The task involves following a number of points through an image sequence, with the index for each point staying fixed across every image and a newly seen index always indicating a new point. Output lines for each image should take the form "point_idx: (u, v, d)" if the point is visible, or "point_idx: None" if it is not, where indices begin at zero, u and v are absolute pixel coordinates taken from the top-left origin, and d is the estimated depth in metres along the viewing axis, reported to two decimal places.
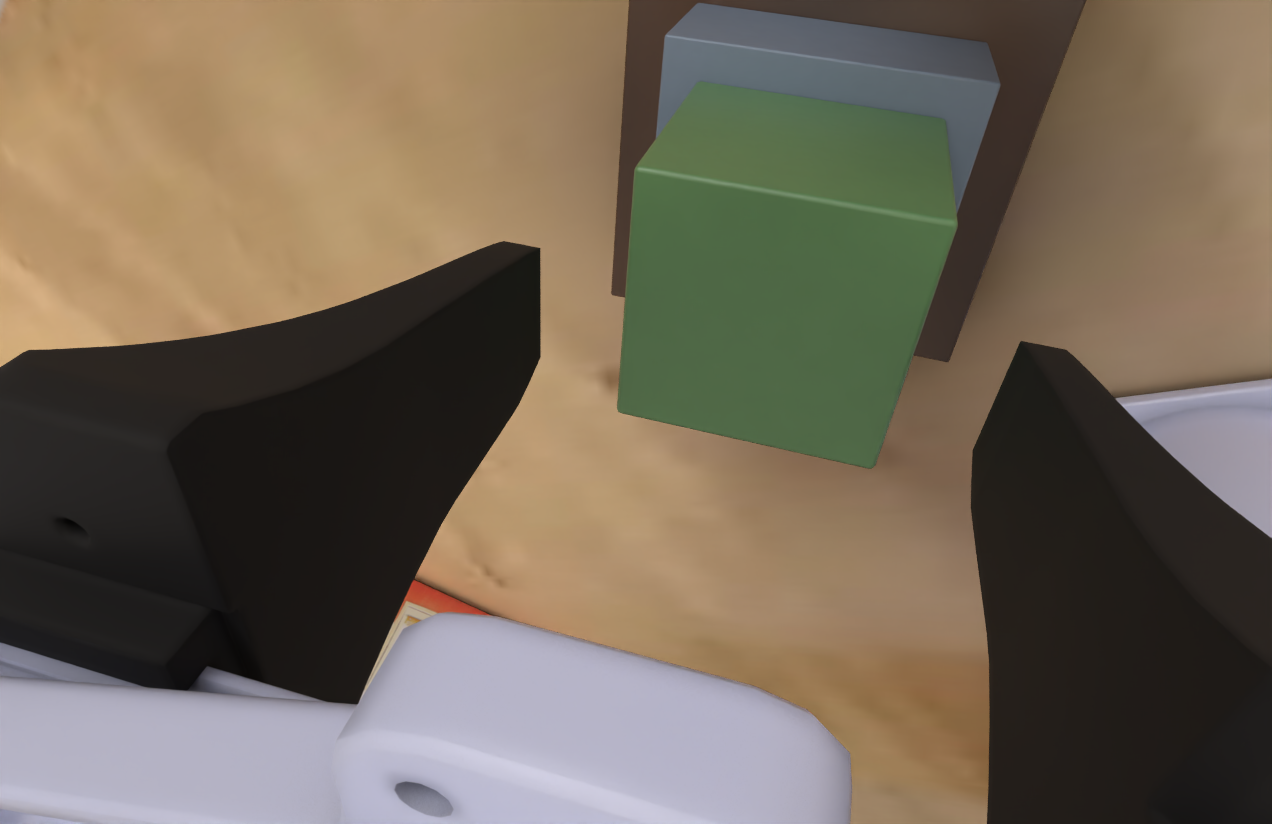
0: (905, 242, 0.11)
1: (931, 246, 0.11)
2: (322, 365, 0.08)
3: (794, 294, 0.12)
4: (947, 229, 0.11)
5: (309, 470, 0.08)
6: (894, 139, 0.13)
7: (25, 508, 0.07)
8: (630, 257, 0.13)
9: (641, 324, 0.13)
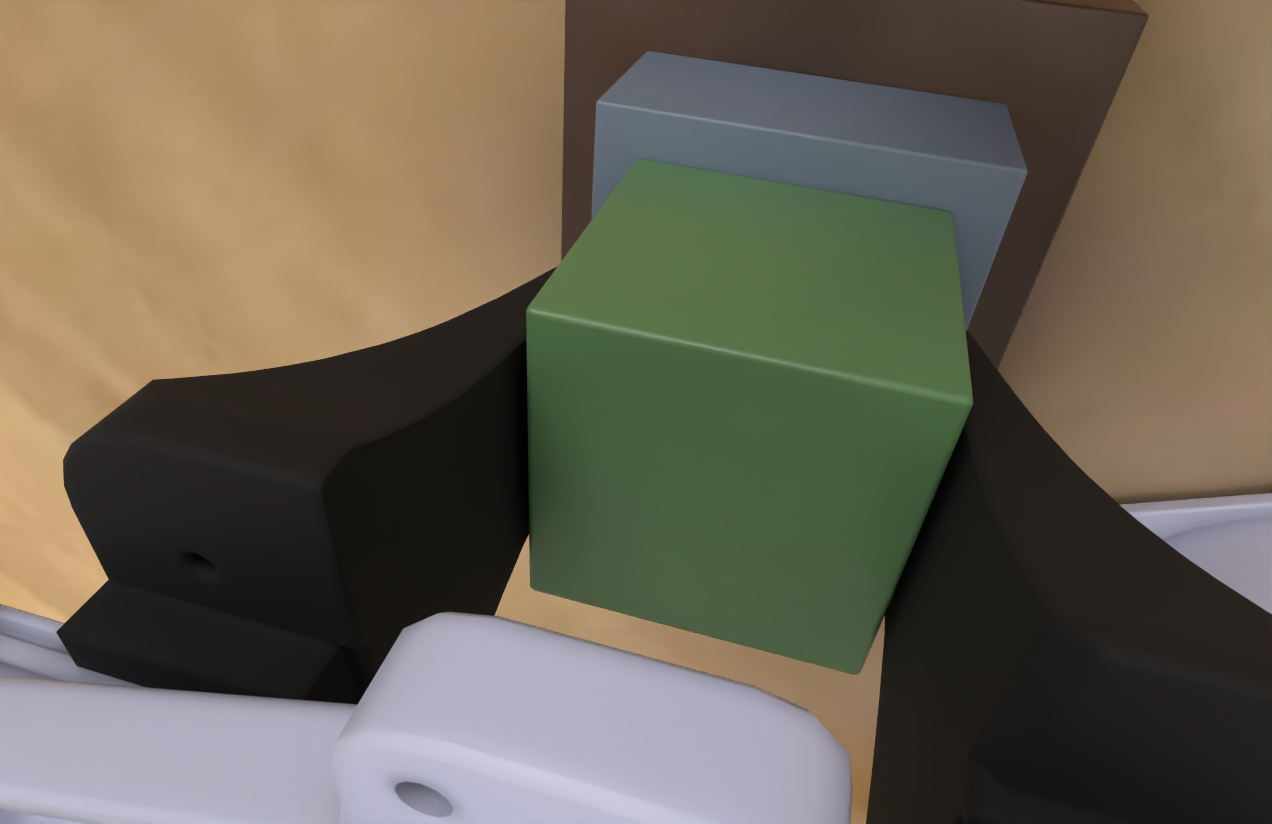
0: (900, 422, 0.08)
1: (936, 429, 0.08)
2: (438, 391, 0.08)
3: (747, 474, 0.09)
4: (958, 408, 0.08)
5: (428, 500, 0.07)
6: (886, 248, 0.10)
7: (152, 543, 0.07)
8: (529, 417, 0.09)
9: (551, 495, 0.10)
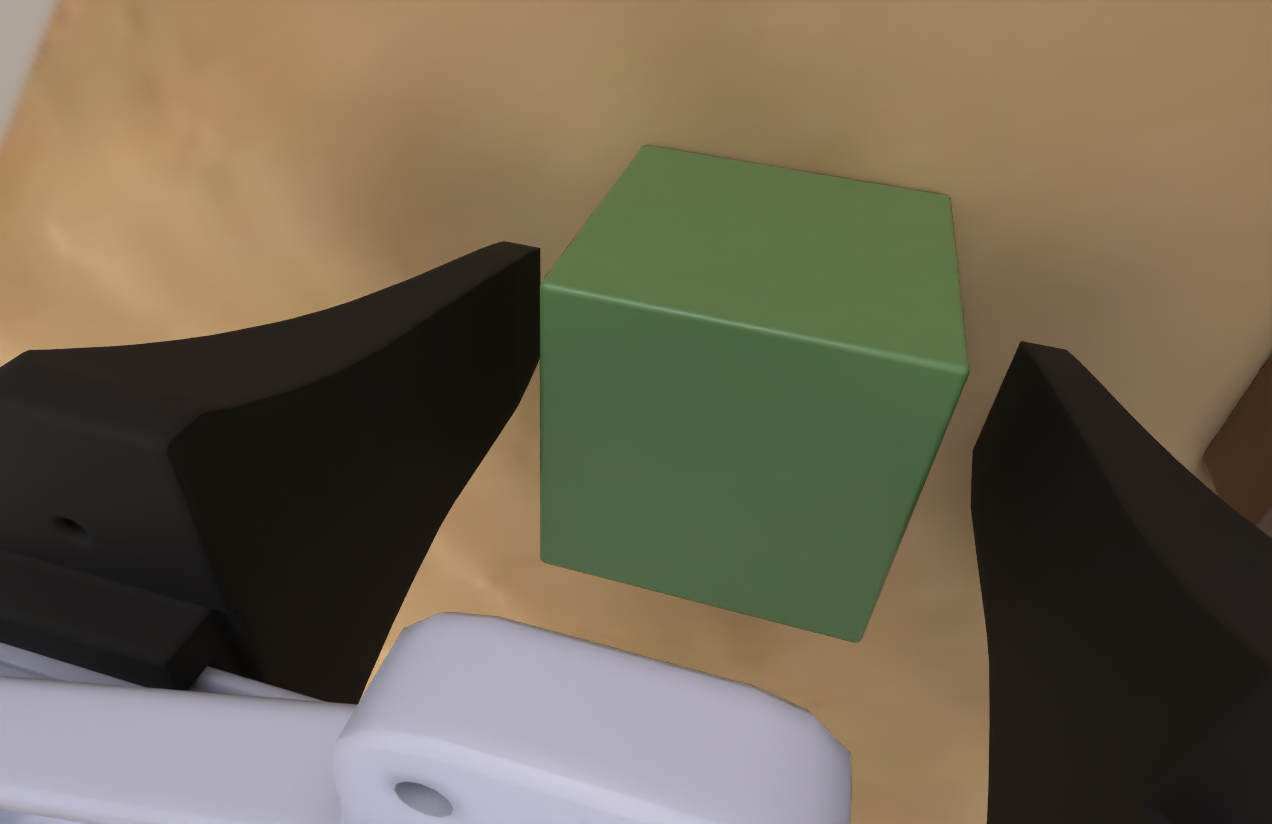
0: (899, 390, 0.08)
1: (933, 397, 0.08)
2: (322, 365, 0.08)
3: (752, 444, 0.09)
4: (955, 377, 0.08)
5: (309, 470, 0.08)
6: (886, 229, 0.11)
7: (26, 508, 0.07)
8: (542, 390, 0.10)
9: (561, 467, 0.10)
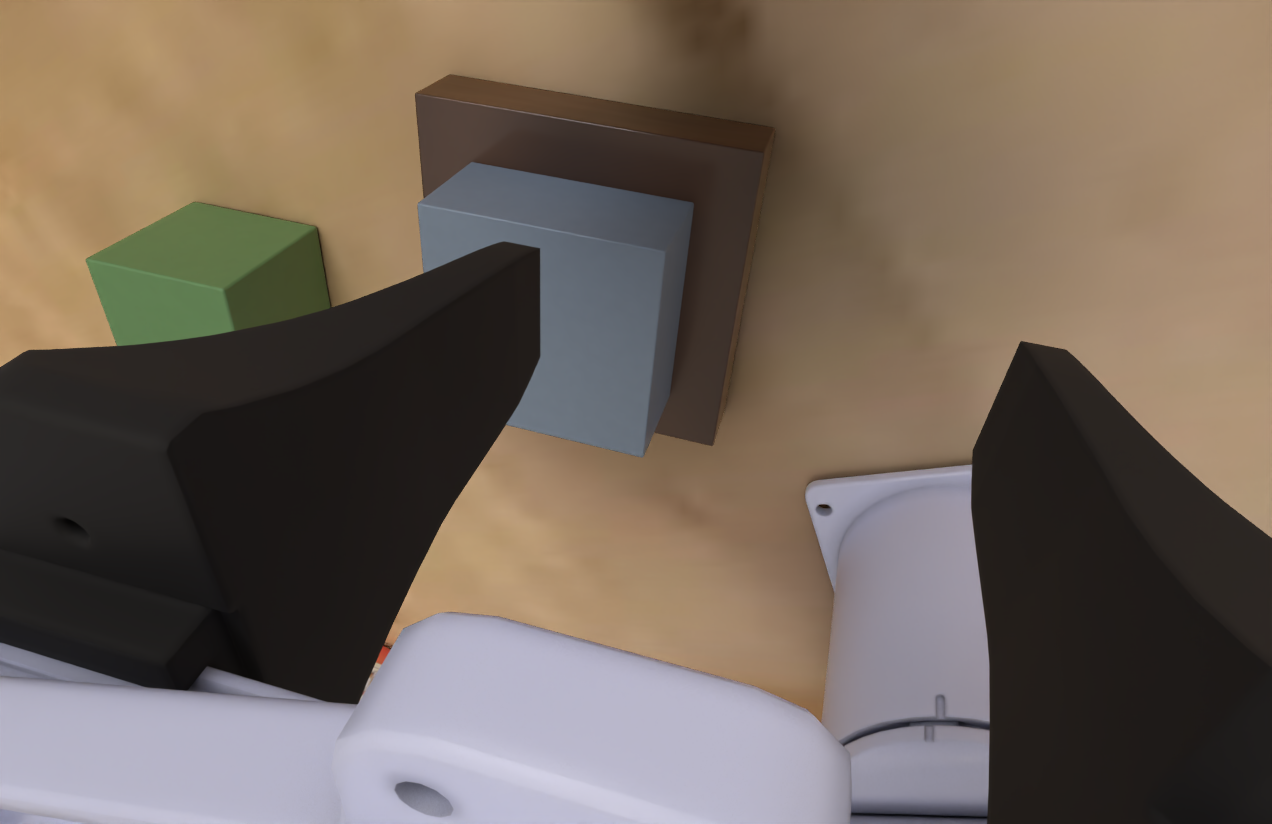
0: (207, 298, 0.23)
1: (217, 300, 0.23)
2: (322, 365, 0.08)
3: (176, 323, 0.24)
4: (220, 292, 0.23)
5: (309, 470, 0.08)
6: (261, 240, 0.25)
7: (25, 507, 0.07)
8: None
9: (120, 337, 0.25)
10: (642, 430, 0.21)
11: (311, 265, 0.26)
